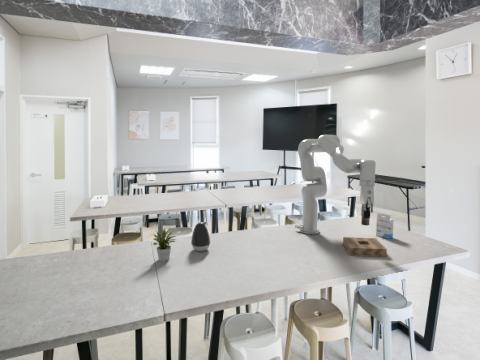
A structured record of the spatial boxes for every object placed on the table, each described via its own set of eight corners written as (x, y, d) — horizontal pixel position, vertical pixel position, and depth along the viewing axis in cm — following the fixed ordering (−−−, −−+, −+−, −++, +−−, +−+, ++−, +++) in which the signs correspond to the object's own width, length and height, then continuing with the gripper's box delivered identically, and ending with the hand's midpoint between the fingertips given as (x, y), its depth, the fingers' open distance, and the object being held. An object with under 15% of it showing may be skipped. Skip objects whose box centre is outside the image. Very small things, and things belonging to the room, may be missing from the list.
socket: (349, 255, 162) (350, 247, 161) (343, 243, 179) (343, 237, 179) (386, 256, 159) (386, 249, 159) (375, 245, 177) (376, 238, 177)
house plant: (162, 268, 145) (161, 234, 143) (142, 262, 152) (140, 229, 150) (183, 258, 157) (182, 227, 155) (163, 253, 164) (162, 223, 162)
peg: (362, 225, 166) (363, 203, 164) (360, 223, 170) (361, 201, 168) (370, 225, 165) (371, 203, 164) (368, 223, 169) (369, 201, 168)
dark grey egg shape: (213, 248, 172) (213, 221, 170) (203, 254, 163) (203, 226, 161) (198, 245, 176) (197, 219, 175) (187, 251, 167) (187, 223, 165)
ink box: (393, 237, 191) (394, 214, 189) (389, 239, 188) (390, 215, 186) (379, 234, 197) (380, 211, 196) (375, 235, 194) (376, 212, 192)
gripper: (379, 185, 156) (377, 221, 158) (369, 181, 172) (368, 213, 175) (363, 185, 157) (362, 220, 159) (355, 181, 173) (354, 213, 176)
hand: (365, 216), depth 167 cm, fingers closed on peg, 4 cm apart
